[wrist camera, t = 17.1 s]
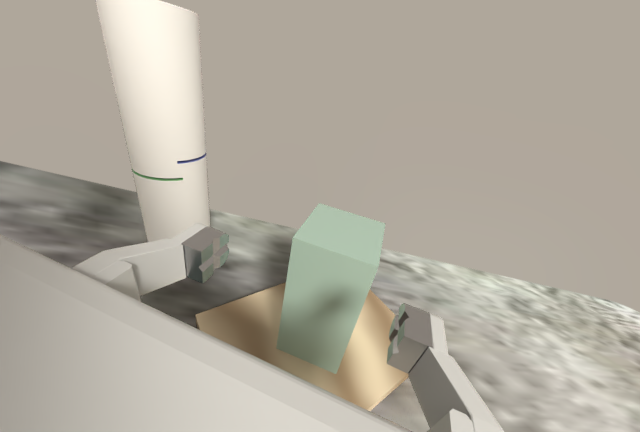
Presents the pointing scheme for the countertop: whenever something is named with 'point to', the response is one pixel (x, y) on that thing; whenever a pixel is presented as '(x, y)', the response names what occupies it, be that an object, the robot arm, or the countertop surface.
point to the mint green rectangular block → (328, 284)
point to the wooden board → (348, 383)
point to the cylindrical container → (160, 109)
